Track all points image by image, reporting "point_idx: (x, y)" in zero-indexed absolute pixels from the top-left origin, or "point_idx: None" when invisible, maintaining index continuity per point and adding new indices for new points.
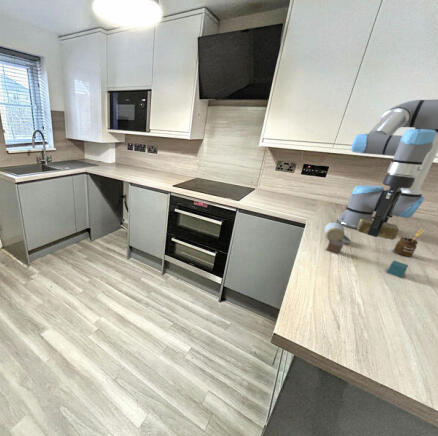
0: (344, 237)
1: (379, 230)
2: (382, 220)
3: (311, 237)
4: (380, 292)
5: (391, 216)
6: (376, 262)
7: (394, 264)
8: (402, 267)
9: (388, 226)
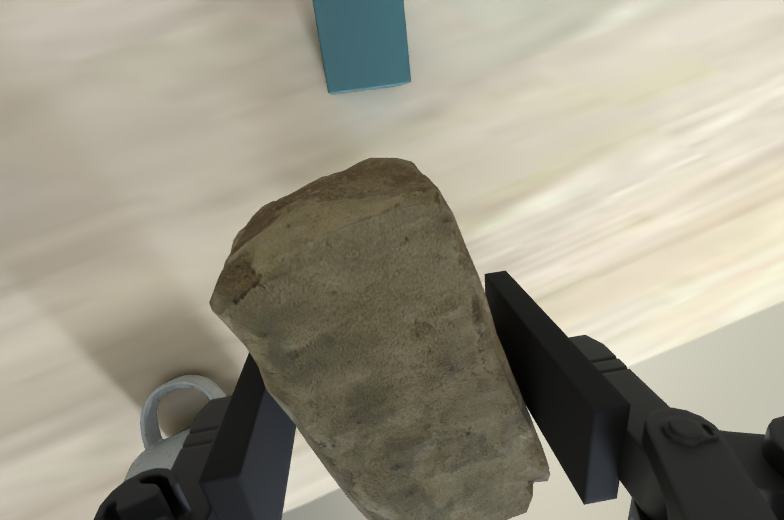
0: (153, 424)
1: (540, 310)
2: (703, 421)
3: None
4: (716, 7)
5: (163, 497)
6: (304, 176)
7: (408, 62)
8: (403, 9)
9: (458, 309)
